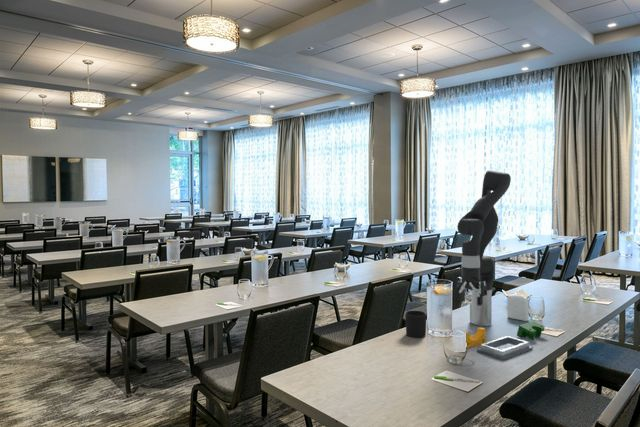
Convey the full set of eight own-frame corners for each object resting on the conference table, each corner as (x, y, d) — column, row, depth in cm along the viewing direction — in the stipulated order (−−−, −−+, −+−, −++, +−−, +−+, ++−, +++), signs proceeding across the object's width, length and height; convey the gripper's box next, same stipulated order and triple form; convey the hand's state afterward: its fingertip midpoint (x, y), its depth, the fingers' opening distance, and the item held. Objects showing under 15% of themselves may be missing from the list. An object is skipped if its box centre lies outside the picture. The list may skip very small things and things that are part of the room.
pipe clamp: (477, 340, 200) (477, 326, 199) (485, 343, 196) (485, 328, 196) (457, 345, 194) (457, 330, 194) (465, 348, 190) (465, 333, 190)
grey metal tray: (477, 351, 186) (477, 344, 186) (506, 341, 197) (506, 334, 197) (503, 360, 176) (503, 352, 176) (532, 349, 187) (532, 342, 187)
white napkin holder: (505, 317, 233) (506, 293, 233) (510, 316, 236) (510, 292, 235) (525, 322, 225) (525, 297, 225) (529, 320, 228) (530, 295, 227)
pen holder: (430, 334, 209) (430, 312, 208) (419, 339, 202) (419, 317, 201) (412, 330, 215) (412, 309, 215) (401, 335, 208) (401, 313, 208)
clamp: (529, 349, 200) (529, 334, 196) (517, 342, 204) (516, 327, 200) (546, 335, 204) (546, 319, 200) (533, 328, 209) (533, 313, 205)
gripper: (451, 264, 198) (451, 301, 198) (479, 268, 186) (479, 308, 187) (462, 262, 202) (462, 299, 203) (490, 266, 190) (490, 305, 191)
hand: (470, 303), depth 195 cm, fingers open, 8 cm apart
